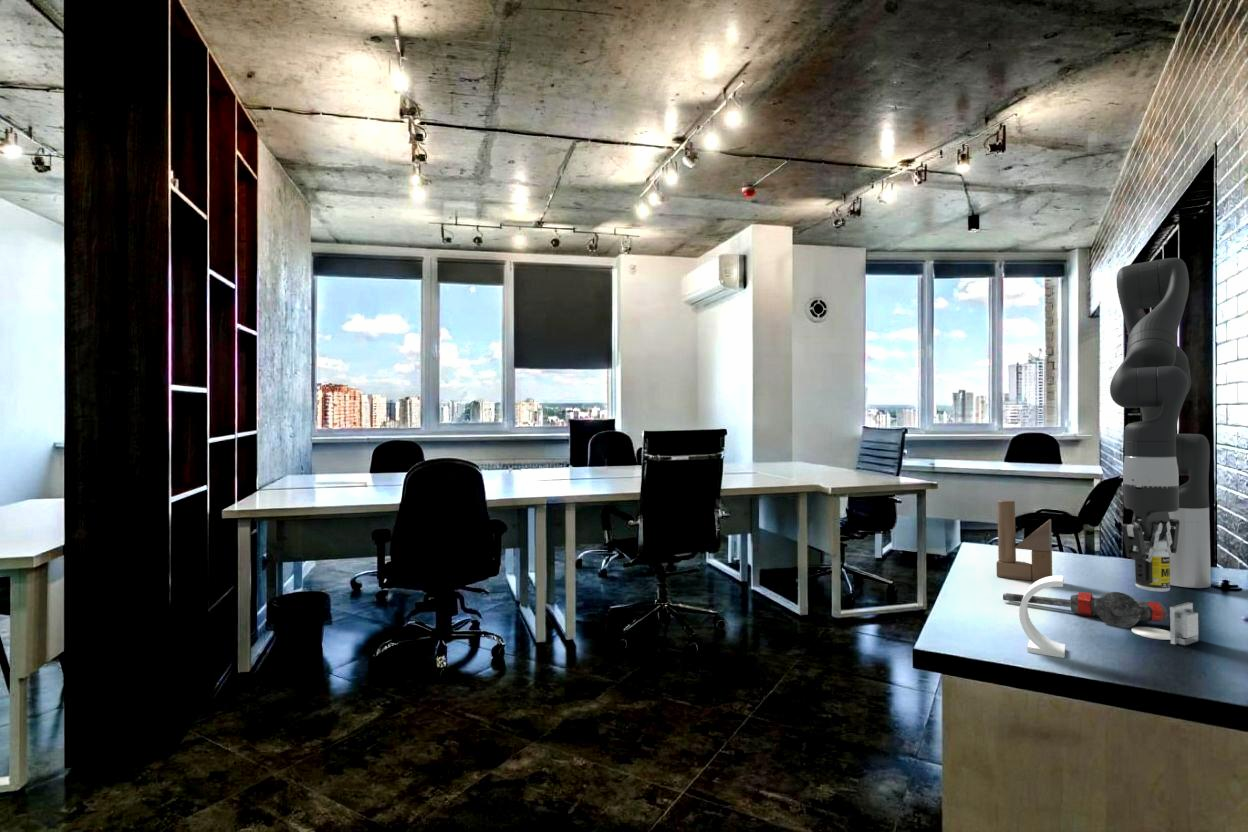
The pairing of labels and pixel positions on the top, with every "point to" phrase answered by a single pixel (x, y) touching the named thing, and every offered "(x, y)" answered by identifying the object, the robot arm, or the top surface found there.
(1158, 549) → the supplement bottle
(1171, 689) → the top surface
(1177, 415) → the robot arm
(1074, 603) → the valve
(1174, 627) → the flange stub
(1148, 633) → the pad
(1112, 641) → the top surface
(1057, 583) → the headphone stand
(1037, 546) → the wooden block
